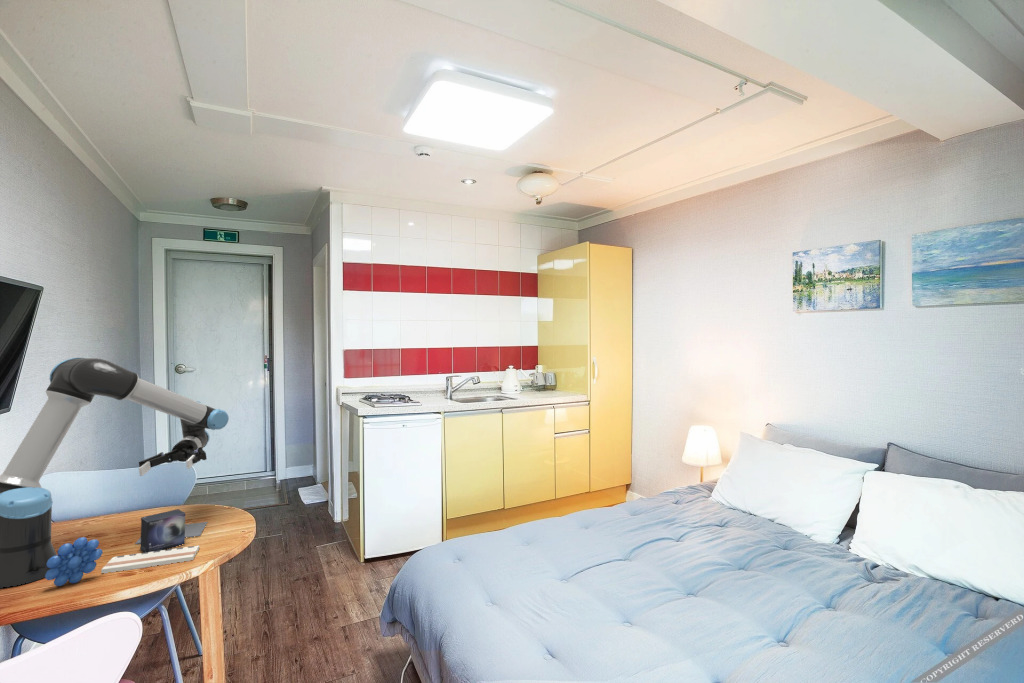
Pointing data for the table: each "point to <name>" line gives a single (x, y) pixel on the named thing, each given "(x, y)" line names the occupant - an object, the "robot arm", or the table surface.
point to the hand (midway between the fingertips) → (164, 468)
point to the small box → (162, 531)
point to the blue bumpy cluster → (73, 561)
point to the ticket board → (150, 559)
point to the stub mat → (190, 530)
